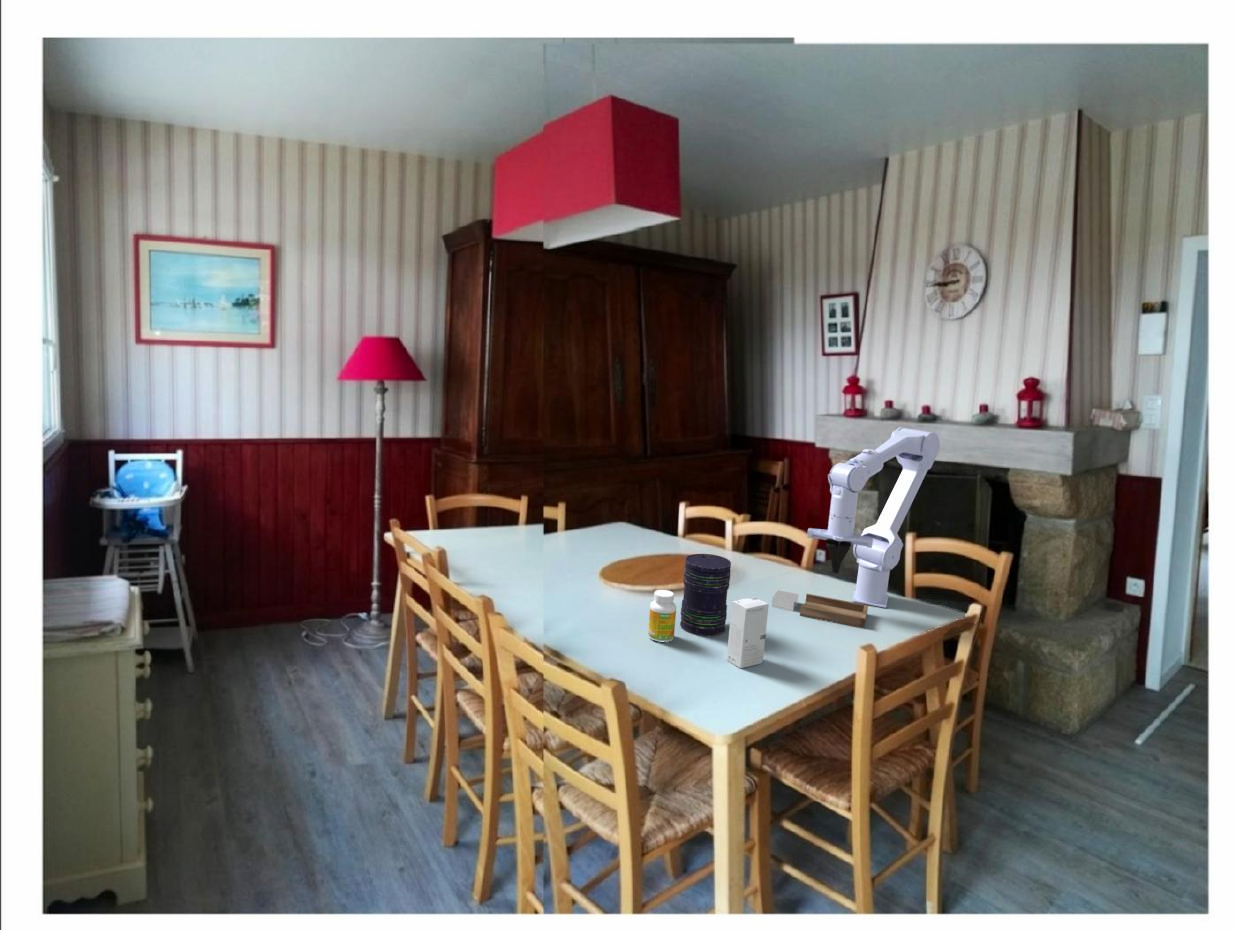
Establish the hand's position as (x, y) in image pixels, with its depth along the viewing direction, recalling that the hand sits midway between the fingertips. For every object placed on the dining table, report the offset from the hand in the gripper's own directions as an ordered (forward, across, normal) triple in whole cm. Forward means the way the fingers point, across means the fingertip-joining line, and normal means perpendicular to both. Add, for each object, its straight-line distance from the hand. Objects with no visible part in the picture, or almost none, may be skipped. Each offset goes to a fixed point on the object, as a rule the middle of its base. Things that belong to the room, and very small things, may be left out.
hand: (835, 571), depth 169 cm
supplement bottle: (+10, -30, -36) cm, 48 cm away
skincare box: (+10, -12, -38) cm, 41 cm away
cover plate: (+10, -10, -2) cm, 15 cm away
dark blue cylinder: (+10, -24, -26) cm, 37 cm away
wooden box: (+9, +1, -3) cm, 10 cm away
